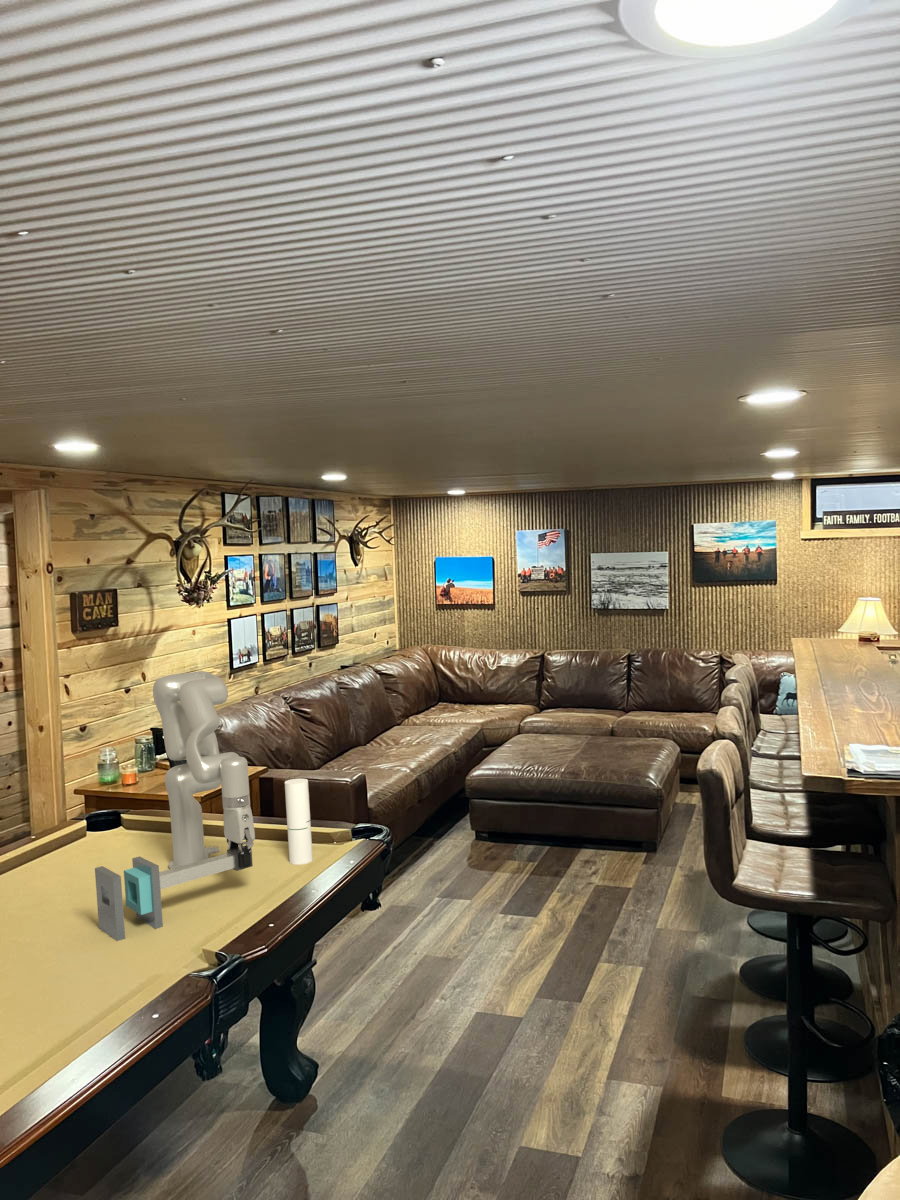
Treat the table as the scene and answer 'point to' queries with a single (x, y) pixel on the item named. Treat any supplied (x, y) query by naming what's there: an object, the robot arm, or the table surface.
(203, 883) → the table surface
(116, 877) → the pair of grey plates
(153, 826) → the table surface
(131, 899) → the spacer
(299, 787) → the cylindrical container
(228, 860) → the shaft
